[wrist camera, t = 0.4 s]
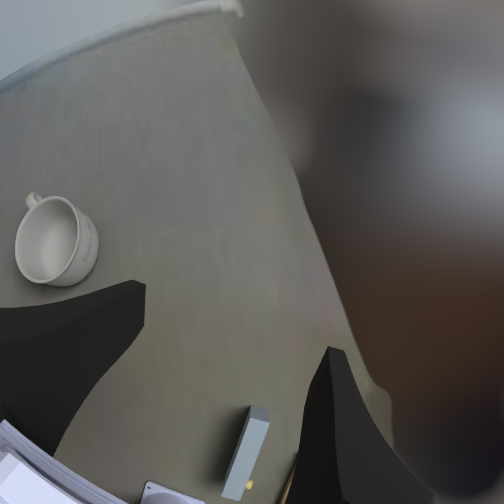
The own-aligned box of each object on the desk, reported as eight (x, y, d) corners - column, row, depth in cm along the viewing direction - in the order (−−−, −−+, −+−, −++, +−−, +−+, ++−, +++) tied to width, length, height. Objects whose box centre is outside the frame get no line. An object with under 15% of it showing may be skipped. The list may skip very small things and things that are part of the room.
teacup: (118, 271, 40) (89, 255, 32) (56, 305, 38) (21, 297, 31) (89, 188, 43) (64, 161, 35) (35, 223, 42) (4, 203, 34)
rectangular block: (247, 480, 33) (246, 503, 26) (226, 473, 33) (221, 496, 27) (273, 411, 35) (277, 425, 29) (251, 404, 35) (250, 417, 29)
